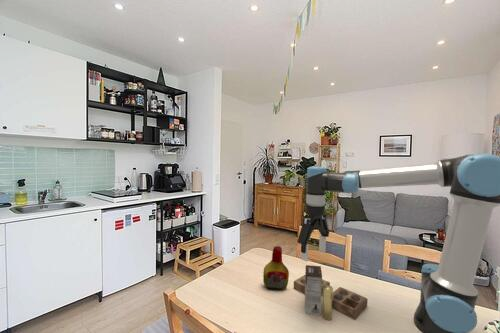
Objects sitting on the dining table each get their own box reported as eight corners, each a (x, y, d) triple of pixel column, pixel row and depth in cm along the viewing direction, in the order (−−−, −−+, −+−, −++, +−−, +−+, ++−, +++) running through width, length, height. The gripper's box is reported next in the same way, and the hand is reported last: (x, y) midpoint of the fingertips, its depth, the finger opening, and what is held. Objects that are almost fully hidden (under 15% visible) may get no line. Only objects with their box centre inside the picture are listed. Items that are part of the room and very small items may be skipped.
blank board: (367, 306, 100) (367, 297, 100) (355, 319, 92) (355, 310, 92) (339, 294, 109) (340, 286, 109) (326, 305, 101) (326, 296, 101)
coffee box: (304, 300, 104) (305, 264, 103) (319, 302, 103) (320, 265, 102) (304, 313, 95) (306, 274, 94) (321, 316, 94) (322, 276, 93)
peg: (333, 317, 93) (334, 287, 92) (328, 321, 91) (329, 291, 90) (325, 313, 96) (325, 283, 95) (320, 317, 93) (321, 287, 93)
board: (329, 289, 113) (330, 268, 112) (316, 299, 104) (316, 277, 104) (307, 279, 121) (308, 260, 121) (293, 288, 113) (294, 267, 113)
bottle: (288, 286, 115) (289, 245, 114) (287, 293, 109) (288, 250, 108) (264, 282, 118) (265, 242, 117) (262, 289, 112) (262, 247, 111)
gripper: (322, 199, 108) (321, 245, 109) (289, 207, 91) (287, 261, 92) (338, 202, 103) (336, 250, 104) (306, 210, 86) (304, 268, 87)
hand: (313, 255), depth 98 cm, fingers open, 13 cm apart
